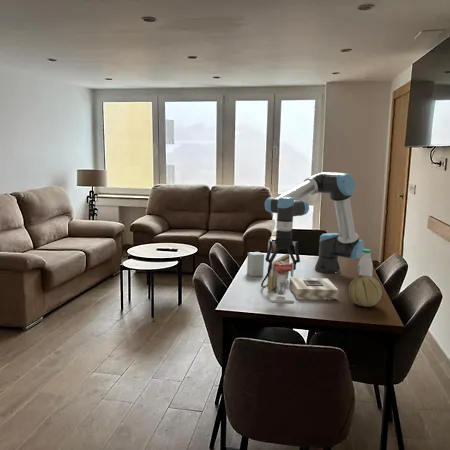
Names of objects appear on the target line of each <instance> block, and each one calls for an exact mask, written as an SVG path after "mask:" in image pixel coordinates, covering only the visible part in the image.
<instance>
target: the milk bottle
mask: <svg viewBox="0 0 450 450" xmlns="http://www.w3.org/2000/svg"><path fill="white" fill-rule="evenodd" d="M371 255H372V250H371V249H369V248H364V249H362V255H361V256H360V258H359V261H358V264H357V272H356V273H357V274H356V277H358V276H359V275H362V276H363V275H367V276H371V277H373V268H374V267H373V265H374V264H373V263H374V262H373V260H372V257H371Z"/></svg>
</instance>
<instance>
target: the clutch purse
mask: <svg viewBox="0 0 450 450" xmlns="http://www.w3.org/2000/svg"><path fill="white" fill-rule="evenodd" d="M280 261H283V262H286V263H290V254H289V253H286V254H284V255H282V256H280V257H279V258H277V259H276V260H275V259H274V260H273V263H275V262H280ZM289 274H290V271H289V272H287V275H286V281H287V280H288V279H289ZM266 280H267V284H265V285H264V283H265V281H266ZM260 287H261V288H265V287H267V290H268V292H272V290H274V289H275V288H277V271H275V270H273V277H271V269H269V265H268V267H267V273H266V275H265V276H264V278H263V280H262V281H261V284H260Z"/></svg>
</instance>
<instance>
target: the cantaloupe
mask: <svg viewBox="0 0 450 450" xmlns="http://www.w3.org/2000/svg"><path fill="white" fill-rule="evenodd" d="M382 292H383V290H382V286H381V284H380V282H379V281H378V280H377V279H376V277H373V276H372V277H371V276H367V275H363V276H362V275H359V276H358V277H357V276H356V277H354V278H353V279H352V280H351V282H350V283H349V287H348V295H349V297H350V300H351V301H352V302H353V303H354V304H355V305H357V306H360V307H362V306H363V307H364V308H366V307H367V308H368V307H369V308H370V307H373V306H375V305H377V304H378V303H379V301H380V300H381V298H382V295H383V293H382Z"/></svg>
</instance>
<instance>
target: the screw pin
mask: <svg viewBox="0 0 450 450" xmlns="http://www.w3.org/2000/svg"><path fill="white" fill-rule="evenodd" d="M273 270H275V271H277V287H275V288H276V292H275V293H276V294H278V295H285V293H286V292H287V291H286V290H287V280H286V275H287V272H289V273H290V272H291V270H292V264H291V263H290V262H289V263H286V262H283V261H280V262H275V263H274V266H273Z"/></svg>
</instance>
